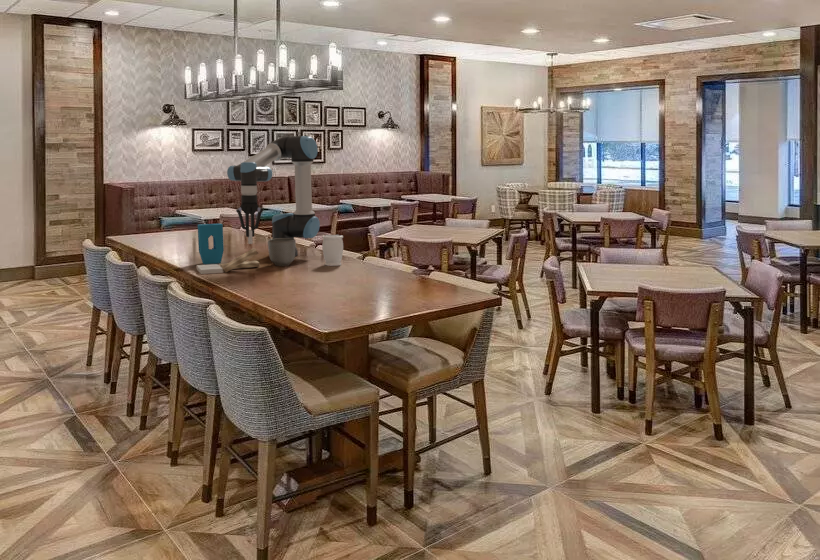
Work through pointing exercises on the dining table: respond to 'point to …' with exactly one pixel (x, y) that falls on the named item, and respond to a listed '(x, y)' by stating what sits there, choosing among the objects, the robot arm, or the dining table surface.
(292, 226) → the robot arm
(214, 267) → the floor board
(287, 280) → the dining table surface
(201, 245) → the block
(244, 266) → the plank
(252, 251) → the plank
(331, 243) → the jar
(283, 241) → the planter
